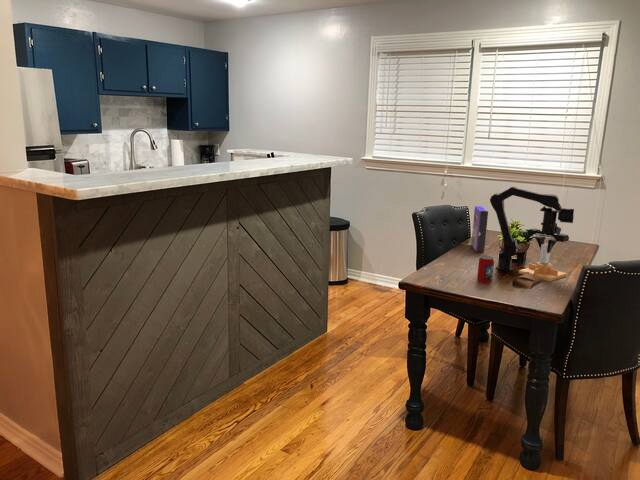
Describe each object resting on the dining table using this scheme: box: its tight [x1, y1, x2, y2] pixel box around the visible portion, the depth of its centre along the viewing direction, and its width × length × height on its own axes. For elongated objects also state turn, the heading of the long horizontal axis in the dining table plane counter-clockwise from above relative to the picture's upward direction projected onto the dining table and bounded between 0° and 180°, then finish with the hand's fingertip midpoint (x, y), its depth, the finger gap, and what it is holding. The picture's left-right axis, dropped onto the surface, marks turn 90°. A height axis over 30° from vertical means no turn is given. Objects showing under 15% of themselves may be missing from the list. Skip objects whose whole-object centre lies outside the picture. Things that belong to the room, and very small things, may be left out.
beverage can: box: [476, 255, 495, 285], centre depth 238 cm, size 7×7×12 cm
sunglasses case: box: [511, 272, 543, 290], centre depth 240 cm, size 18×7×7 cm, turn 141°
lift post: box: [538, 242, 551, 264], centre depth 252 cm, size 3×3×10 cm
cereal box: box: [470, 205, 489, 252], centre depth 303 cm, size 17×5×24 cm, turn 172°
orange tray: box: [518, 261, 568, 282], centre depth 254 cm, size 16×16×6 cm
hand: (545, 252), depth 252 cm, fingers closed on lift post, 3 cm apart
